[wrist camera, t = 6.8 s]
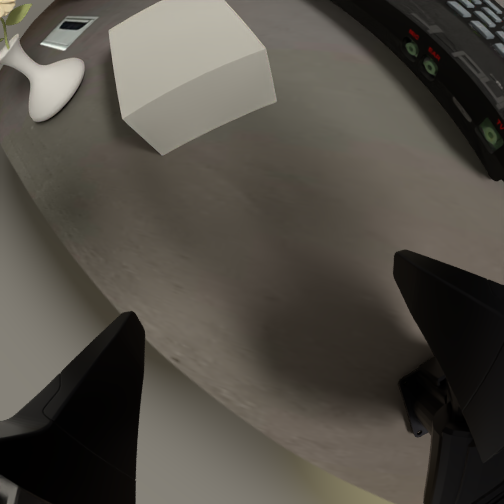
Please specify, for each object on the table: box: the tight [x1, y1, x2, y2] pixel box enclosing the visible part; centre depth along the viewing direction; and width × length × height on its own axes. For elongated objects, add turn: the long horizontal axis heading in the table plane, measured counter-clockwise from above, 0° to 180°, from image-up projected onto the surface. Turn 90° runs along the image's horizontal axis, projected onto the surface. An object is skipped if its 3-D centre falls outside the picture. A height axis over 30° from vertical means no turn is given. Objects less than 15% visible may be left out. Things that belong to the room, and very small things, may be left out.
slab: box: [109, 0, 277, 156], centre depth 23 cm, size 16×12×8 cm
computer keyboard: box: [330, 0, 504, 181], centre depth 20 cm, size 45×28×7 cm, turn 27°
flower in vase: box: [0, 0, 85, 122], centre depth 19 cm, size 13×11×25 cm
